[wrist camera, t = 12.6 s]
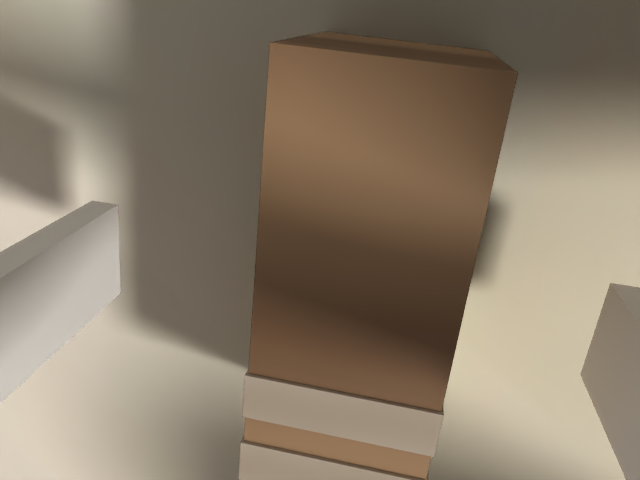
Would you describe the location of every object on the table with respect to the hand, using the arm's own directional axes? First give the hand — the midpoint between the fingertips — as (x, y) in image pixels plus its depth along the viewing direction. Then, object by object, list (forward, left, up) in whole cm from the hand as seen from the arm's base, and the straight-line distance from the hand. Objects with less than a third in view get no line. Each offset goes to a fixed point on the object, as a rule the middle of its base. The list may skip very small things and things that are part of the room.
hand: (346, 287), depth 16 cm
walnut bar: (0, 0, -3) cm, 3 cm away
